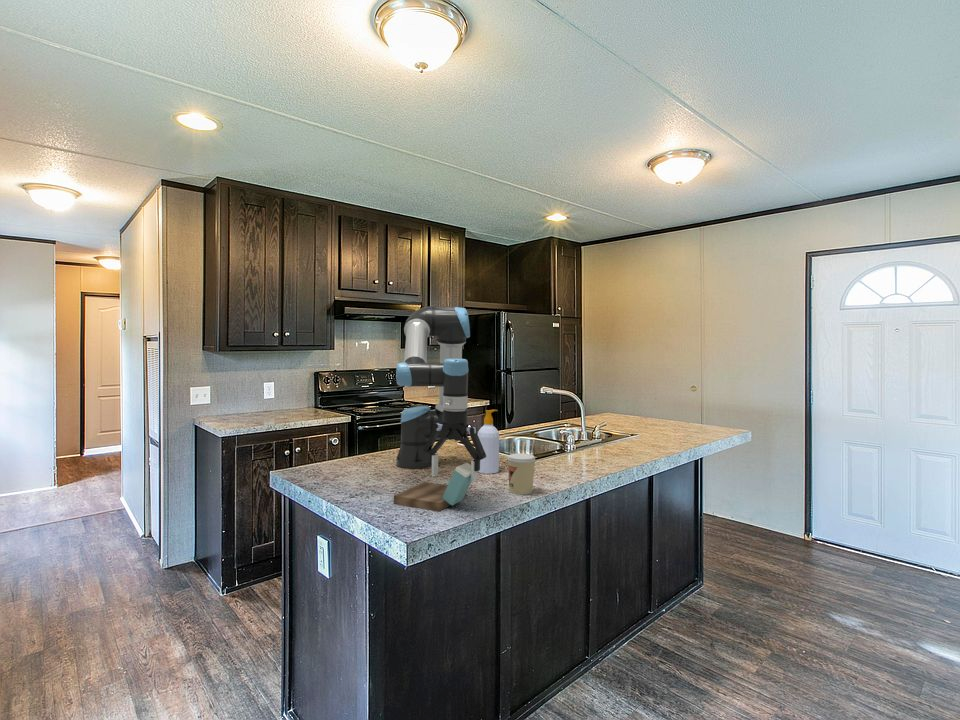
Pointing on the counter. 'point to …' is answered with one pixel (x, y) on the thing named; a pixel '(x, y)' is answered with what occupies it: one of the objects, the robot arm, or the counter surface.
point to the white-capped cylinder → (521, 473)
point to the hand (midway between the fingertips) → (454, 478)
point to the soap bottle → (489, 445)
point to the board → (423, 496)
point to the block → (458, 484)
